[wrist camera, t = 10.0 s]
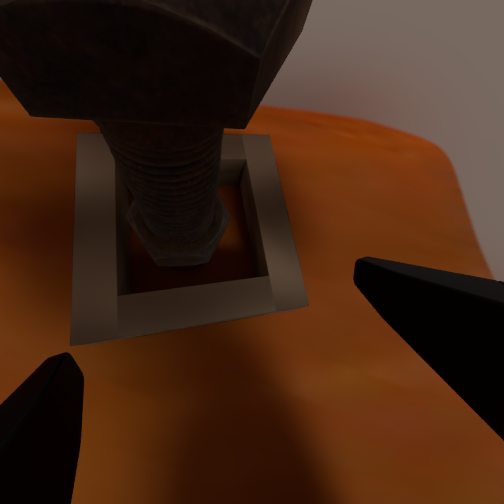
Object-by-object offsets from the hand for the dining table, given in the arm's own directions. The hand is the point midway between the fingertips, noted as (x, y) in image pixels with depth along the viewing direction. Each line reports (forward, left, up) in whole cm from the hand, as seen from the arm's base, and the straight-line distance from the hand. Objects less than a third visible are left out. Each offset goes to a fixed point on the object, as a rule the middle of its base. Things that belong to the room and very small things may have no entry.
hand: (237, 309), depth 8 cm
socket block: (+6, +1, -9) cm, 11 cm away
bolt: (+5, +2, -9) cm, 10 cm away
